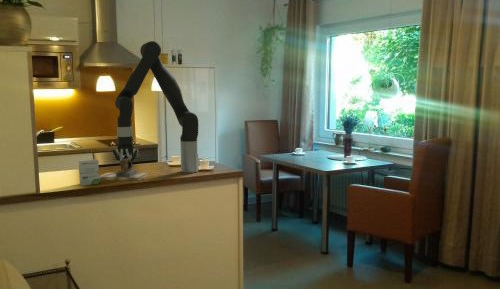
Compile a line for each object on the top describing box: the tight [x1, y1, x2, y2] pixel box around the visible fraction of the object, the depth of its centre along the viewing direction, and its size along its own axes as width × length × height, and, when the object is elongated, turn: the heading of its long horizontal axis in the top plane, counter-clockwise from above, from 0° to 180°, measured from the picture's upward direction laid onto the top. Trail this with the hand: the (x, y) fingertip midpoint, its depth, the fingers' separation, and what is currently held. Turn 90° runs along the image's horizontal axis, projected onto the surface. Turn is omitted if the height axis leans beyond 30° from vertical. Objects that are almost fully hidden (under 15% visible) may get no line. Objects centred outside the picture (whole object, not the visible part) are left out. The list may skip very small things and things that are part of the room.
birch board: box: [99, 172, 148, 181], centre depth 234 cm, size 22×13×2 cm, turn 86°
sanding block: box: [115, 158, 138, 177], centre depth 233 cm, size 7×11×8 cm, turn 176°
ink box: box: [78, 159, 100, 186], centre depth 218 cm, size 8×5×12 cm, turn 119°
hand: (126, 168), depth 233 cm, fingers closed on sanding block, 3 cm apart
